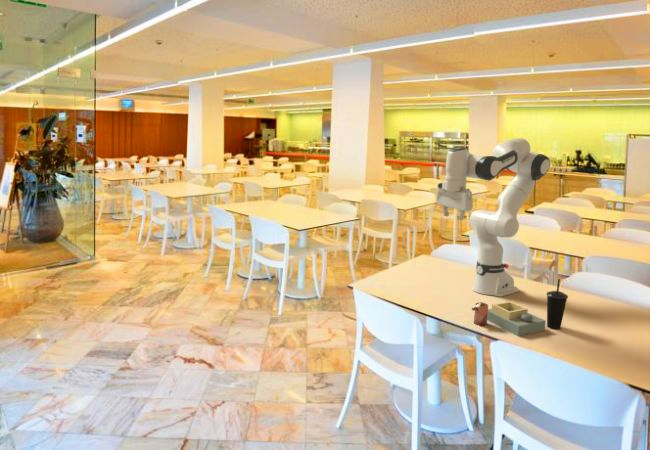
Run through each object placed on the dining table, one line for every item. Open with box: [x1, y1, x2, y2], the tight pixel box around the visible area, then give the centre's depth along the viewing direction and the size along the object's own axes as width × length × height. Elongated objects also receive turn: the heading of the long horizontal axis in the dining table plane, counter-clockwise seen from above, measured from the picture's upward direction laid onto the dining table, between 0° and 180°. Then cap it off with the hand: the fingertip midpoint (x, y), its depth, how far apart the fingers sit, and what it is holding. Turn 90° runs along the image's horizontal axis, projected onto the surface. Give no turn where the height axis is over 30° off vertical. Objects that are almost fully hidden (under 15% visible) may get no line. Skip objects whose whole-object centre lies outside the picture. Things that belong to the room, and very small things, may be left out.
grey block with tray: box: [487, 300, 547, 337], centre depth 192 cm, size 14×18×7 cm
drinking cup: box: [546, 278, 569, 330], centre depth 189 cm, size 8×8×20 cm
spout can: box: [471, 301, 489, 327], centre depth 192 cm, size 7×5×9 cm
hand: (452, 218), depth 205 cm, fingers open, 8 cm apart
